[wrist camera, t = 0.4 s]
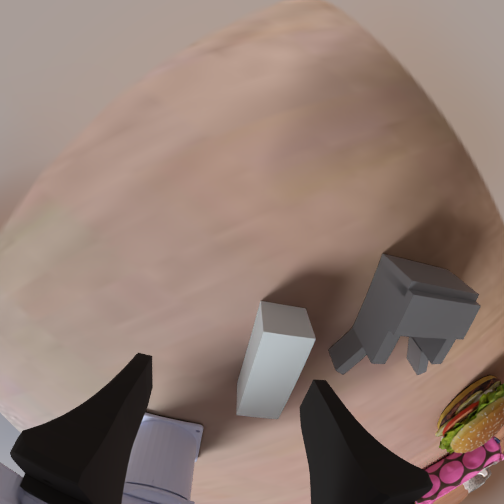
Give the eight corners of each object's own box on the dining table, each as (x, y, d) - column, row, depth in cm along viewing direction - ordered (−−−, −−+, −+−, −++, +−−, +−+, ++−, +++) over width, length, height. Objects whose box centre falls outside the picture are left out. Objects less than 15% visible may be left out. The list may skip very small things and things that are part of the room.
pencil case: (488, 419, 33) (508, 452, 24) (489, 430, 36) (506, 459, 27) (400, 478, 38) (412, 514, 29) (411, 482, 41) (422, 514, 31)
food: (445, 437, 33) (461, 469, 25) (418, 422, 29) (438, 464, 22) (505, 384, 29) (526, 413, 22) (493, 354, 26) (524, 391, 18)
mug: (463, 481, 52) (469, 493, 46) (462, 479, 50) (468, 492, 44) (486, 465, 50) (492, 477, 44) (486, 462, 48) (493, 474, 42)
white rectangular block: (274, 386, 25) (278, 419, 21) (237, 381, 24) (236, 415, 21) (305, 306, 22) (315, 338, 18) (260, 299, 21) (263, 331, 18)
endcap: (413, 358, 24) (435, 394, 19) (326, 353, 23) (341, 398, 18) (456, 272, 21) (492, 300, 16) (368, 250, 20) (401, 282, 15)
